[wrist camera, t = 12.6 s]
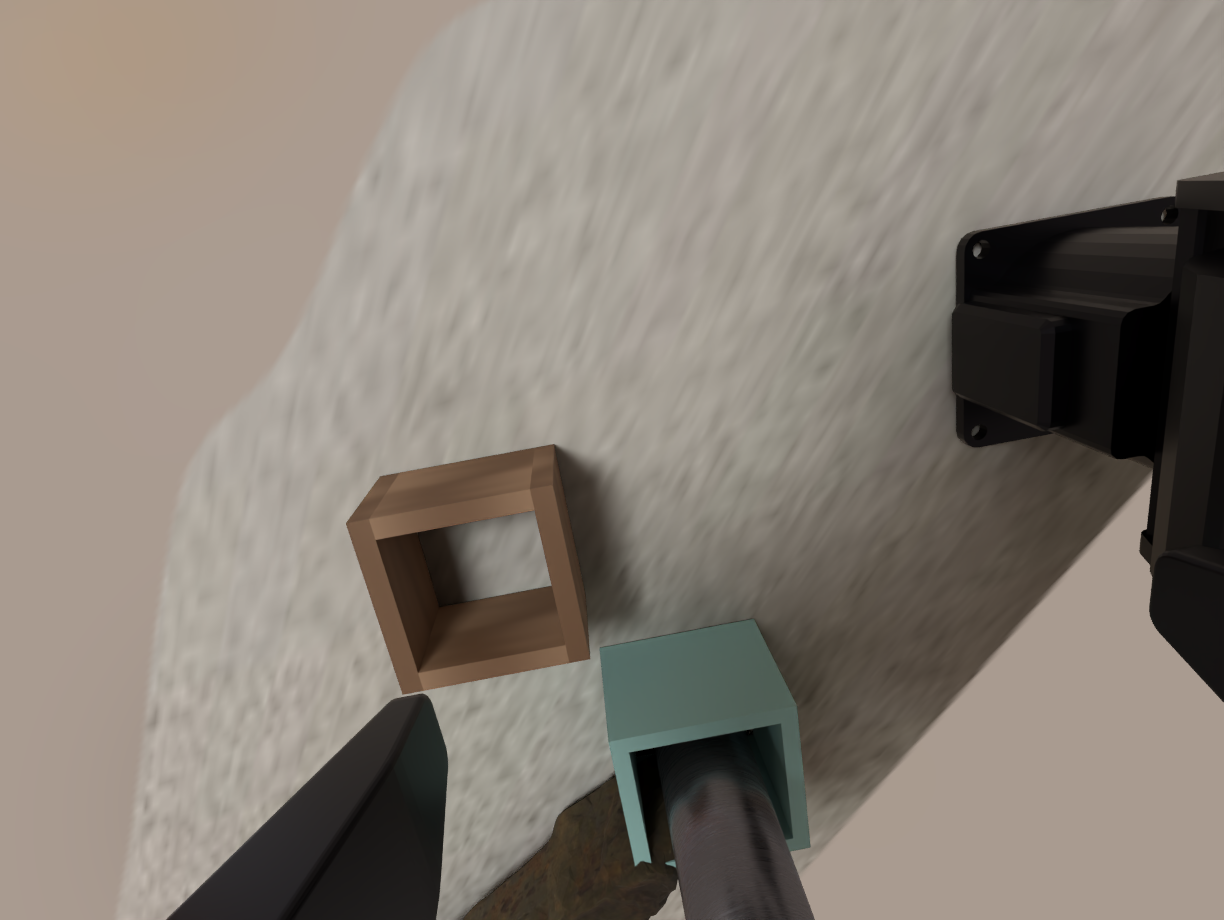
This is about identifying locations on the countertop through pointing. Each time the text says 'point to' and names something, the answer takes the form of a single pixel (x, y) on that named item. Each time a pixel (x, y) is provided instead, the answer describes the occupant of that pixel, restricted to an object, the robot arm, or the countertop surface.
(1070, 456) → the countertop surface
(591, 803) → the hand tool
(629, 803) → the hollow teal block
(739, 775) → the stepped grey cylinder
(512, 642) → the socket block
